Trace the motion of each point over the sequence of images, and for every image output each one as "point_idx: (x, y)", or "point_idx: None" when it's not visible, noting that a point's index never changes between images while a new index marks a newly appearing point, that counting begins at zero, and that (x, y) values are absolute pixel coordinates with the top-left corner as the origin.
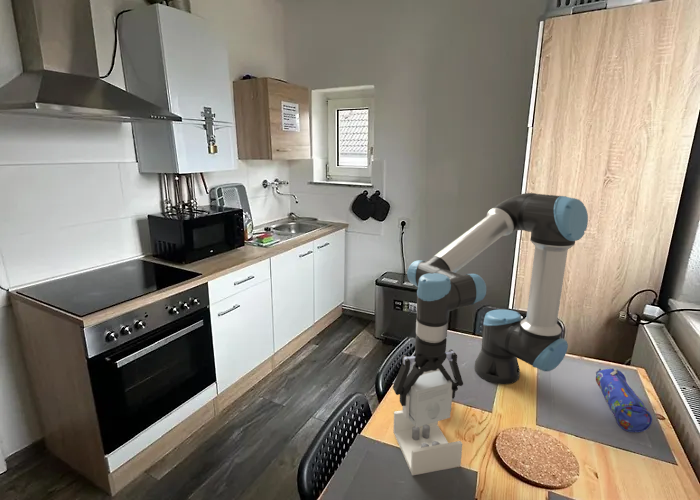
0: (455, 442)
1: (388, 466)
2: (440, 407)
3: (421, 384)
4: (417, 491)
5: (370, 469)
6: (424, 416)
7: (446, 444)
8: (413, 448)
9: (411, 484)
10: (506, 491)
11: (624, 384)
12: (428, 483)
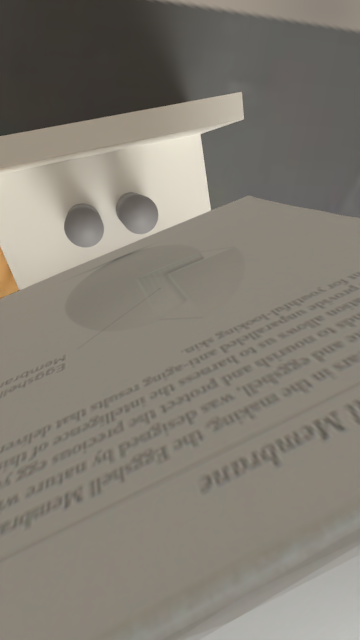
0: None
1: (269, 169)
2: (58, 317)
3: None
4: (185, 22)
5: (329, 157)
6: (214, 233)
7: (29, 150)
8: None
9: (203, 67)
10: None
11: None
12: (131, 65)
